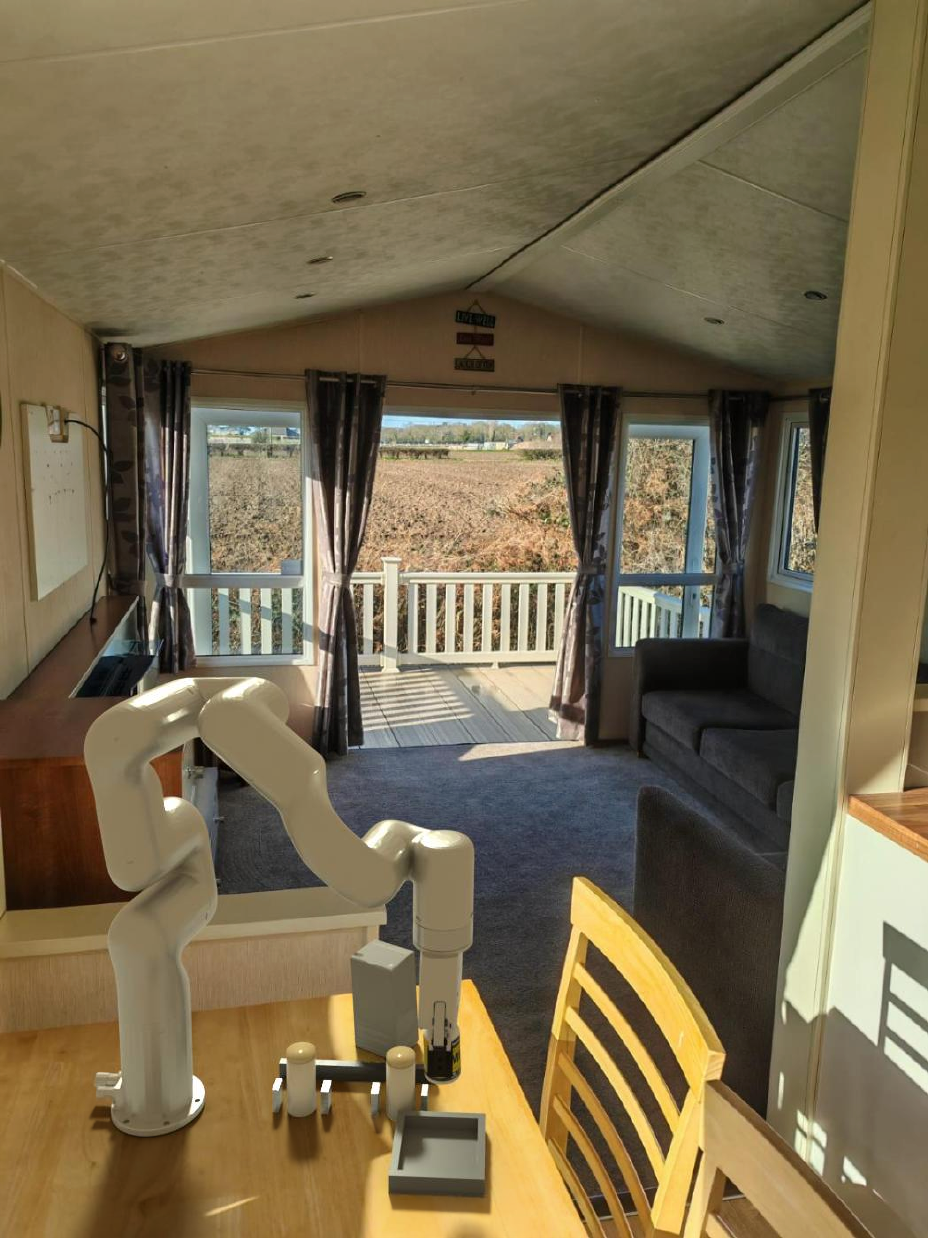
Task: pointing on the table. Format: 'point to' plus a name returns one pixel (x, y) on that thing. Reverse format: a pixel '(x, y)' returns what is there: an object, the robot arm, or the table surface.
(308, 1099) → the ball
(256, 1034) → the table surface
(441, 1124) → the tray
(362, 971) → the skincare box
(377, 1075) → the clip rail
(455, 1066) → the supplement bottle
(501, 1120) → the table surface
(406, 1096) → the cylinder
